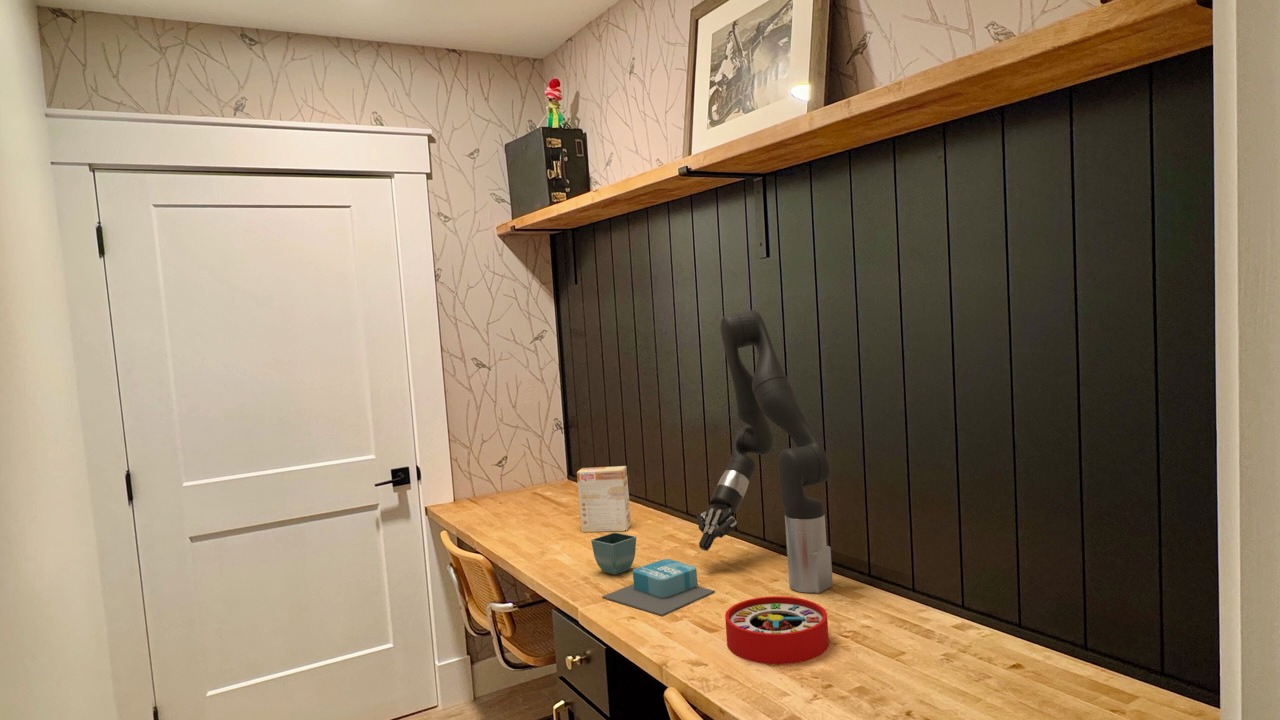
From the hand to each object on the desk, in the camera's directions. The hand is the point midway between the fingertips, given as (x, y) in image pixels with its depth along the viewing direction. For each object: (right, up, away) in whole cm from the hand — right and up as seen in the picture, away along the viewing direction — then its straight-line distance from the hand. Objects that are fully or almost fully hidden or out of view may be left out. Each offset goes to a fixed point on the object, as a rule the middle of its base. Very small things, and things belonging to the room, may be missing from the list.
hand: (703, 548), depth 201 cm
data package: (-5, -4, -5) cm, 8 cm away
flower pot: (-22, -8, +7) cm, 25 cm away
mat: (-12, -8, -13) cm, 19 cm away
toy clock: (+11, -8, -44) cm, 46 cm away
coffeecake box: (-27, -6, +51) cm, 58 cm away
